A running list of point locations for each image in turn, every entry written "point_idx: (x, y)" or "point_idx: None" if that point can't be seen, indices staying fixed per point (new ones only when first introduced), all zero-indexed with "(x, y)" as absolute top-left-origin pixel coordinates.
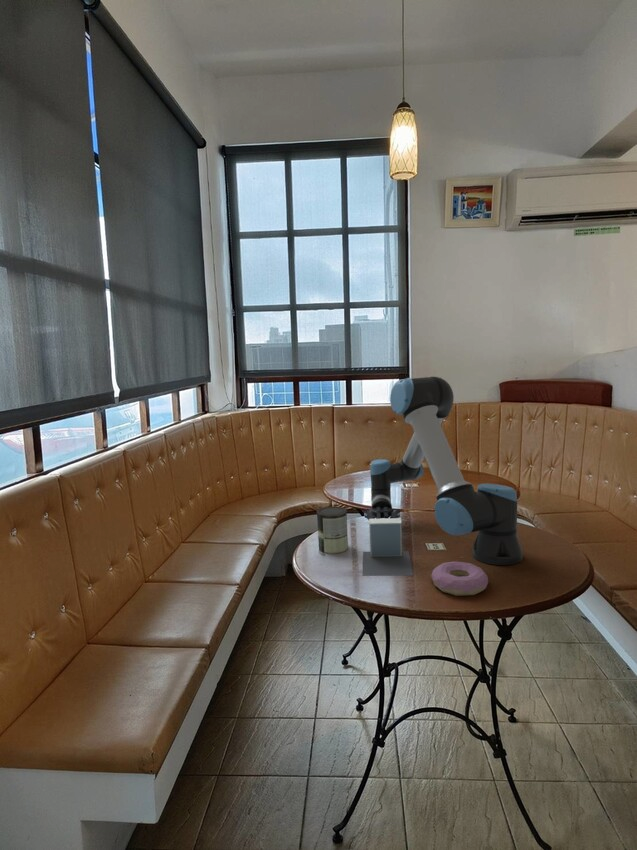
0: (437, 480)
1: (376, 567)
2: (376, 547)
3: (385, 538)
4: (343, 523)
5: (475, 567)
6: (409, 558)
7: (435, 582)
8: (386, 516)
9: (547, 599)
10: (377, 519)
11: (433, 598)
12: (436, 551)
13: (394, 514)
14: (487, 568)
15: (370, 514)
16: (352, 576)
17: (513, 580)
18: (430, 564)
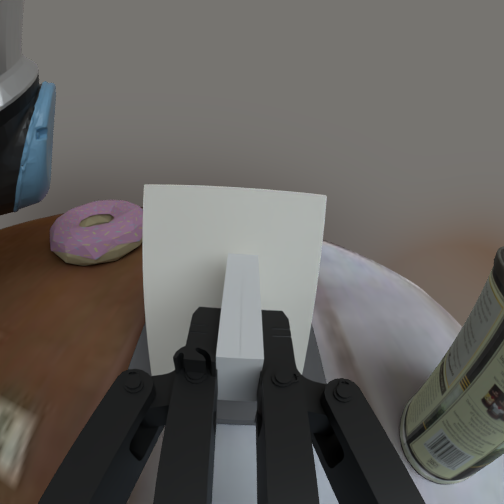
0: (20, 32)
1: None
2: None
3: None
4: (475, 314)
5: (64, 217)
6: (139, 341)
7: None
8: (195, 344)
9: (35, 219)
10: (278, 190)
11: None
12: (20, 393)
13: (71, 466)
14: (7, 281)
15: (399, 488)
16: (322, 283)
17: (18, 248)
18: (92, 317)
